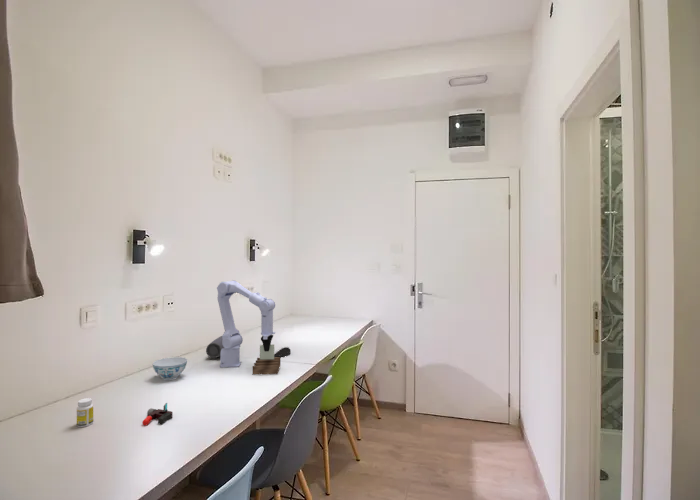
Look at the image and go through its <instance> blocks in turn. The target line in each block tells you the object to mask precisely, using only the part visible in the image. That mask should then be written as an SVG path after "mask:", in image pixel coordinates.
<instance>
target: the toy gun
mask: <svg viewBox="0 0 700 500" xmlns="http://www.w3.org/2000/svg"><path fill="white" fill-rule="evenodd" d="M146 414H147V416H146V417H145V418H144V419H143V420H142V426H148V424H150V423H151V422H152V421H154V420H157V424H158V425H163V424H165V423H167V421H168V422H169V420H171V419H173V411H170V410H168V402H166V403H165V404H164V405H163V409H161V408H157V409H156V408H152V407H151V408H149V409H148V410H147V413H146Z"/></svg>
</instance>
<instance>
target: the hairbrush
mask: <svg viewBox="0 0 700 500" xmlns="http://www.w3.org/2000/svg"><path fill="white" fill-rule="evenodd" d="M291 351H292V350H291V349H290V347H289V346H284V347H281V348H279V349H278V350H276V352H274V357H280V359H281V357H283V358H286V357H288V356H290V355H291ZM285 356H286V357H285Z"/></svg>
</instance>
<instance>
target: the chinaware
mask: <svg viewBox="0 0 700 500" xmlns="http://www.w3.org/2000/svg"><path fill="white" fill-rule="evenodd" d="M187 363H188V358H186V357H182V356H172V357H164V358H160V359H157V360H154V361H153V362H152V363H151V364H152V368H153V370H154V372H155V373H156V375H158V376H159V377H160V378H161V379H162V380H164V381H171V380H176V379H178V378H179V375H181V374H182V373H183V372H184V370H185V369H186V367H187Z"/></svg>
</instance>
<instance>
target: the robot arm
mask: <svg viewBox="0 0 700 500" xmlns="http://www.w3.org/2000/svg"><path fill="white" fill-rule="evenodd" d="M216 289H217V303H218V308H219V311H220V315H221V320H222V324H223V329H224V332H223V334H221V336H222V338H223V341H222V344H223V347H224V348H222V349H221V354H220V357H219V358H220V359H219V363H220V365H219V367H220V368H239V367H240V366H241V364H242V363H243V362H242V361H240V360H241V359H240V357H241V355H240V352H241V351H240V350H241V345H242V344H243V339H244V338H243V336H242V335H241V333H240V330H238V329H237V328H236V325H235V320H234V316H233V312H232V308H231V303H230V299H231V297H232V296H233V295H234V294H235V293H237V294H239V295H241V296H243V297H245V298H247V299H248V301H249V302H250V304H253V305H254V306H256V307H257V308H258V309H259V310H260V315H261V319H260V320H261V325H260V326H261V327H260V328H261V330H260V331H261V332H260V335H261V337H260V341H261V343H262V345H263V346H264V351H269V348H270V345H272V340H273V337H274V335H275V334H276V331H274V309H275V308H276V302H275V301H274V300H273V299H272V298H269V299H268V297H266V296H263V295H261V293H260V292H257V291H256V292H252V291H250V290H249V289H248V288H246V287H245V286H243V285H242V284H241V283H240V282H238V281H236V280H233V279H232V280H227V281H221V282H219V284H218V285H217V287H216Z"/></svg>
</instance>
